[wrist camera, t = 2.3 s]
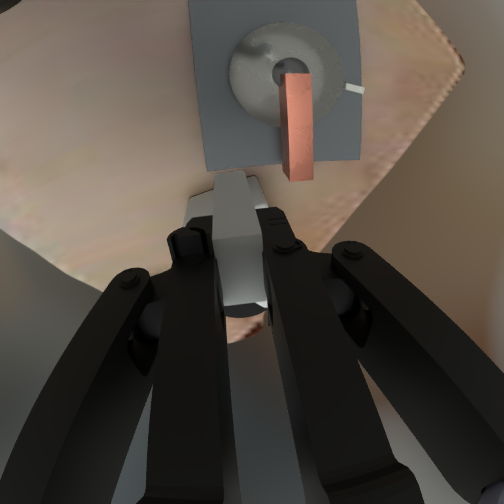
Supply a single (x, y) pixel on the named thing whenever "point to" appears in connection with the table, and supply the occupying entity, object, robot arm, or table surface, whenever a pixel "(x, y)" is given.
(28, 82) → the table surface
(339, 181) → the table surface
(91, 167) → the table surface
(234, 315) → the container
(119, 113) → the table surface
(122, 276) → the robot arm
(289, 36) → the dial
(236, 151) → the plate
